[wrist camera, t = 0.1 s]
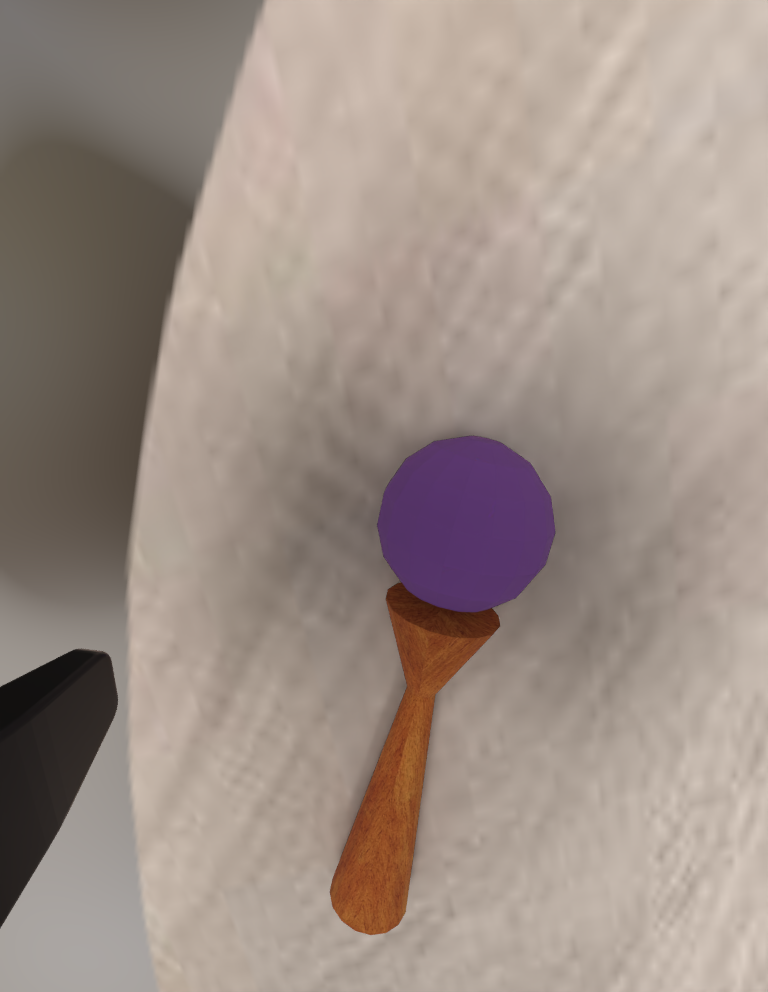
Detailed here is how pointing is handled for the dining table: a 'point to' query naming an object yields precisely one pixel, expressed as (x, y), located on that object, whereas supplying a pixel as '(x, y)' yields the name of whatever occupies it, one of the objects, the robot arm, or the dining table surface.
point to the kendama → (436, 634)
